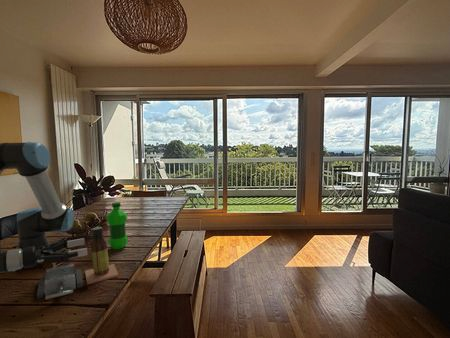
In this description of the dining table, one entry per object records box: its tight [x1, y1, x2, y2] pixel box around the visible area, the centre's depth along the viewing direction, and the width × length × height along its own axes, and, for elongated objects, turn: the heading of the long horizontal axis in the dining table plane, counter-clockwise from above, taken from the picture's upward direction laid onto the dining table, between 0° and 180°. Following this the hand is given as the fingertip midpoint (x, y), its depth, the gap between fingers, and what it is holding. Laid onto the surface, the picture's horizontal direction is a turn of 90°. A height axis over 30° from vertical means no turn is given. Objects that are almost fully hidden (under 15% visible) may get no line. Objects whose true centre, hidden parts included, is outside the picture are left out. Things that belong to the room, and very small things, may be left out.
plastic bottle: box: [106, 201, 129, 250], centre depth 145 cm, size 10×10×25 cm
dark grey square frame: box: [36, 262, 84, 300], centre depth 104 cm, size 21×15×5 cm
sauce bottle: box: [90, 226, 110, 275], centre depth 114 cm, size 7×6×20 cm
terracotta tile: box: [84, 263, 119, 285], centre depth 115 cm, size 12×12×1 cm
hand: (85, 246), depth 111 cm, fingers open, 13 cm apart
